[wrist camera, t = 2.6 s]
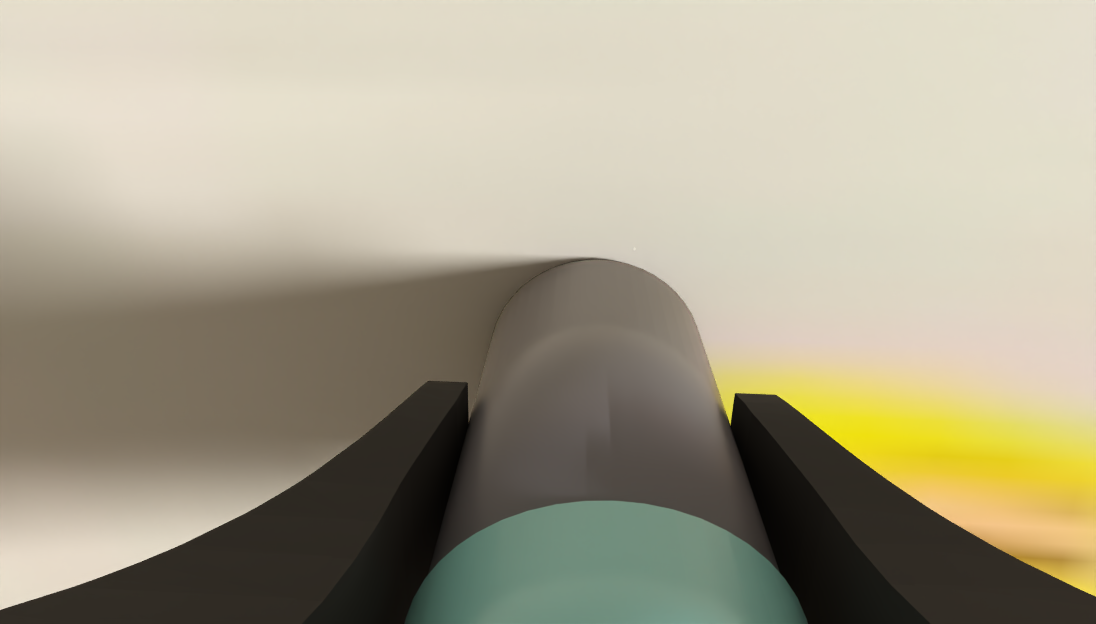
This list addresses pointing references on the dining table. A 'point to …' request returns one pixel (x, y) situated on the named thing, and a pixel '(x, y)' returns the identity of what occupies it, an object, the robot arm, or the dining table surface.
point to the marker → (600, 472)
